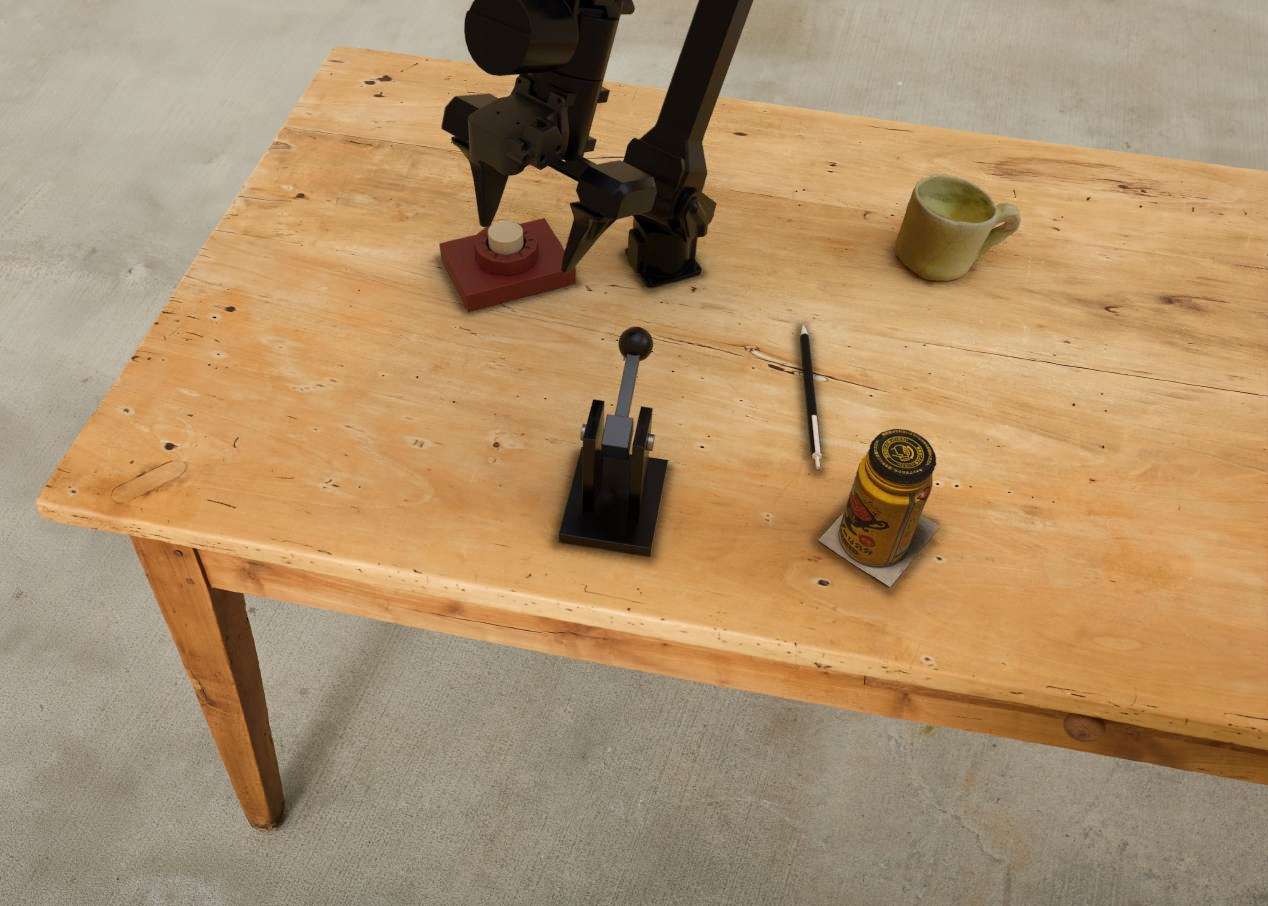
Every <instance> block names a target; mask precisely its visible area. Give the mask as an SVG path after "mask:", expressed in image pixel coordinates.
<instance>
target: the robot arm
mask: <svg viewBox="0 0 1268 906" xmlns="http://www.w3.org/2000/svg"><path fill="white" fill-rule="evenodd" d="M753 3H754V0H697V4H696V7H695V10H694V13H693V15H692V19H691V21H690V24H689V27H688V30H687V33H686V35H685V39H684V41H683V45H682V48H681V50H680V53H679V56H678V58H677V61H676V65H675V67H674V70H673V73H672V76H671V78H670V82H669V85H668V88H667V90H666V94H665V96H664V99H663V102H662V105H661V108H660V111H659V114H658V117H657V119H656V122H655V125H654V126H652V127H651V128H650V129H649V130H648V131H646V132H645V133H644V134H643V135H642V136H641V137H639V138H638V137H632V139H631V140H630V141H629V142H628V143H627V145H626V149H625V152H624V155H623V160H621V159H619V160H612V161H607V162H602V163H601V162H600V163H595V162H594V161H592V160H590V159H588V158H586V157H584V155H585V153H591V152H595V148H596V144H597V141H598V139H597V138H595V137H593V136H591V135H590V134H591V130H592V126H593V122H594V118H595V115H596V111H597V107H598V104H606V103H607V104H608V100H609V97H610V92H611V89H608V88H607V87H604V86H603V84H604V80H605V76H606V72H607V69H608V64H609V62H610V57H611V53H612V49H613V45H614V43H615V38H616V35H617V31H618V28H619V24H620V20H621V16H623V15H625V16H628V15H629V16H631V15H633V14H634V13H635V10H636V7H635V4H634V1H633V0H473V1H472V3H471V4H470V7H469V9H468V10H467V11H466V12H465V16H464V23H463V26H464V27H463V34H464V41H465V45H466V48H467V51H468V54H469V55H470V57H471V59H472V61H473V62H474V63H475V64H476V65H477V67H478V68H480V69H481V70H482V71H483V72H484V73H486V74H489V75H491V76H497V77H504V76H505V77H506V76H517V77H516V78H515V82H514V86H513V89H512V90H511V93H510V94H509V95H507V96H502V97H498V96H495V95H493V94H491V93H479V94H477V93H476V94H465V95H464V94H463V95H455V96H453V97H452V98H451V99H450V100H449V101H448V102H447V104H446V105H445V106H444V110H443V114H442V119H441V126H440V129H441V130H443V131H444V132H446V133H448V134H450V135H451V137H450V141H451V143H452V144H453V145H454V146H455V147H457V148H458V150H460V152H461V153H462V154H463V155H464V158H466V160H467V162H468V163H469V168H470V170H471V176H472V180H473V187H474V195H475V200H476V209H477V216H478V223H479V226H480V227H482V228H485V227H488V226H490V225H492V224H493V221H494V219H495V217H496V215H497V212H498V210H499V207H500V204H501V202H502V199H503V195H504V192H505V190H506V186H507V184H508V180H509V177H513V176H517V175H520V174H521V173H522V172H524V170H525V168H527V167H529V166H531V167H533V168H535V169H537V170H539V171H542V170H544V169H545V168H548V167H549V168H550V169H552V170H555V171H556V172H558V173H559V174H560V173H561V174H562V175H563V176H566V177H568V178H570V179H571V180H573V181H575V182H577V185H576V187H575V193H576V195H577V197H578V200H579V201H573V202H570V203H569V207H570V211H571V214H572V217H573V220H572V224H571V227H570V230H569V234H568V238H567V241H566V244H565V248H564V250H565V251H564V255H563V259H562V266H561V272H562V273H564V274H566V273H569V272H571V271H572V270H573V269H574V267H577V265H578V264H579V263H580V262H581V260H582V259H583V258H584V257H585V256H586V254H587V253H588V252H589V251H590V249H591V248H592V247H593V246H594V245H595V244H596V243H597V241H598V240H599V239H600V238H601V236H602V235H603V234H604V233H605V232H606V231H607V230H608V229H609V228H610V227H611V226H612V225H613V224H614V223H615V222H617V220H620V219H621V220H622V219H624V218H628V217H633V218H632V228H631V229H629V230H628V235H627V237H628V238H627V247H626V248H625V249H624V254H625V256H626V258H627V261H628V263H629V264H630V266H631V267H632V269H633V270H634V272H635V273H636V274H637V275H638V276H639V277H640V278H641V280H642V282H643V283H644V285H645V286H646V287H648V288H654V287H659V286H662V285H665V284H670V283H673V282H678V281H680V280H684V279H688V278H692V277H695V276H698V275H701V274H702V271H703V269H702V266H701V265H700V264H699V262H698V261H697V260H696V255H697V247H698V246H697V245H698V238H704V237H705V236H707V235H708V230H709V229H708V228H709V225H710V224H711V223H712V221H713V220H714V219H713V218H714V217H715V211H716V208H717V205H718V204H717V202H716V201H715V200H713V198H712V199H711V197H709V196H708V195H707V194H705V193H704V192H703V190H704V186H705V184H706V180H707V177H708V167H707V163H706V156H705V150H704V145H703V141H704V137H705V136H706V135H705V134H706V132H707V129H708V127H709V124H710V121H711V118H712V115H713V112H714V110H715V107H716V105H717V102H718V98H719V96H720V95H721V91H722V88H723V85H724V82H725V80H726V77H727V75H728V71H729V68H730V66H731V63H732V61H733V58H734V55H735V52H736V49H737V47H738V44H739V42H740V38H741V36H742V33H743V30H744V28H745V25H746V22H747V19H748V17H749V14H750V11H751V8H752V5H753Z"/></svg>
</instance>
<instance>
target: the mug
mask: <svg viewBox="0 0 1268 906" xmlns="http://www.w3.org/2000/svg"><path fill="white" fill-rule="evenodd" d="M1021 221H1022V217H1021V212H1020V209H1019V207H1018V206H1017V205H1015V204H1012V203H1009V202H1003V203H999V204H997V205H996V204H995V201H994V200H993V198H992V195H990V194H989V193H988V192H986V190H985V189H983V188H982V187H980V185H978V184H976V183H974V182H972V181H970V180H967V179H965V178H962V177H958V176H954V175H950V174H937V173H936V174H932V175H930V176H928V177H924V178H921V179H920V180H919V181H917V182H916V184H915V186H914V188H913V190H912V192H911V195H910V199H909V201H908V203H907V205H906V208H905V213H904V215H903V219H902V222H901V225H900V228H899V230H898V234H897V236H896V238H895V239H896V240H895V245H894V246H895V247H894V248H895V249H894V250H895V254H896V256H897V258H899V260H900V262H901V263H902V264H903V265H904V267H907V268H908V269H909V270H910V271H911V272H913V273H914V274H916V275H917V276H918V277H920V278H922V279H924V280H926V281H945V282H946V281H954V280H958V279H960V278H962V277H963V276H965V275H966V274H967V273H968V272H969V270H970V268H971V267H972V266H973V264H975V262H977V261H978V260H979V259H981V257H982V256H983V255H985V254H986V253H987V252H988V251H990V249H992V248H993V247H994V246H998V245H999V244H1000V243H1002V242H1003V241H1005V240H1006V239H1007V238H1009V237H1010V236H1013V234H1014V233H1016V232H1018V230H1019V227H1020V225H1021ZM1001 223H1002V224H1001ZM999 224H1000V225H999Z"/></svg>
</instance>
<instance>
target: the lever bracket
mask: <svg viewBox="0 0 1268 906" xmlns="http://www.w3.org/2000/svg"><path fill="white" fill-rule="evenodd" d="M605 403H606V401H605V400H601V399H595V398H594V399H592V401H591V405H590V409H589V412H588V417H587V421H586V423H582V424H581V428H580V435H579V437H580V438H579V439H580V441H582V446H581V447H580V449H579V454H578V459H577V462H576V465H575V469H574V474H573V477H572V481H571V485H570V489H569V493H568V496H567V501H566V504H565V508H564V512H563V516H562V520H561V523H560V527H559V531H558V543H562V544H569V545H575V546H581V547H587V548H594V549H600V550H607V551H612V552H618V553H619V552H620V553H626V554H632V555H638V556H645V557H651V556H652V552H653V548H654V547H653V546H654V541H655V536H656V531H657V525H658V521H659V514H660V511H661V510H660V509H661V504H662V503H661V502H662V500H663V499H662V498H663V494H664V487H665V482H666V478H667V472H668V467H669V465H668V464H669V460H668V459H666V458H658V457H652V456H650V452H653V451H654V446H655V439H656V434H654V433H652V425H653V424H652V423H653V412H654V411H653V410H654V408H653V407H651V406H649V407H648V406H642V405H641V406H640V408H639V413H638V417H637V423H636V427H635V430H634V431H635V432H634V434H633V439H632V444H631V453H629V458H628V460H621V459H615V458H608V457H602V450H601V442H602V437H603V432H604V427H605V405H606V404H605Z"/></svg>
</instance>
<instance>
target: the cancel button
mask: <svg viewBox="0 0 1268 906" xmlns="http://www.w3.org/2000/svg"><path fill="white" fill-rule="evenodd" d="M518 223H519V222H516V221H513V220H499V221H495V222H494V223H491V226H490V227H489V229H488V241H489V247H490V249H491V250H492V251H493V252H494V253H496V254H501V255H510V254H514V253H517V252H519V251H520V250H521V249H522V247H523V229H522V227H521V226H520V225H519V224H520V223H519V224H518Z"/></svg>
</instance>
